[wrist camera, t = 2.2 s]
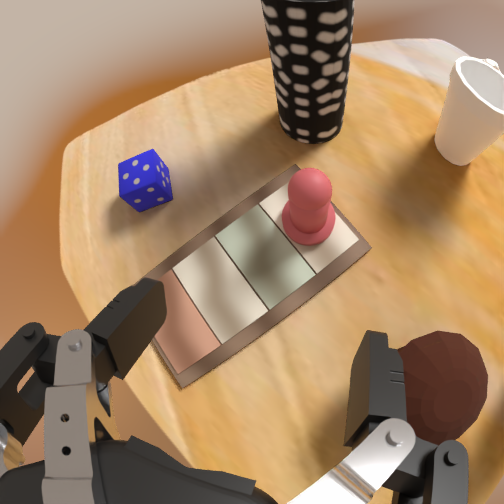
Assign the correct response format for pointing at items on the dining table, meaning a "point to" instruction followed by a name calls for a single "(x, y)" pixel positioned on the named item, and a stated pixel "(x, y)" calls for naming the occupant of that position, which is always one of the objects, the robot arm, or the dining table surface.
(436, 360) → the muffin
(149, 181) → the die
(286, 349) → the dining table surface
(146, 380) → the dining table surface
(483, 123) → the foam cup
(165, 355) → the game track
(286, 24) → the white-spotted black cylinder
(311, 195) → the pawn
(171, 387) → the dining table surface
